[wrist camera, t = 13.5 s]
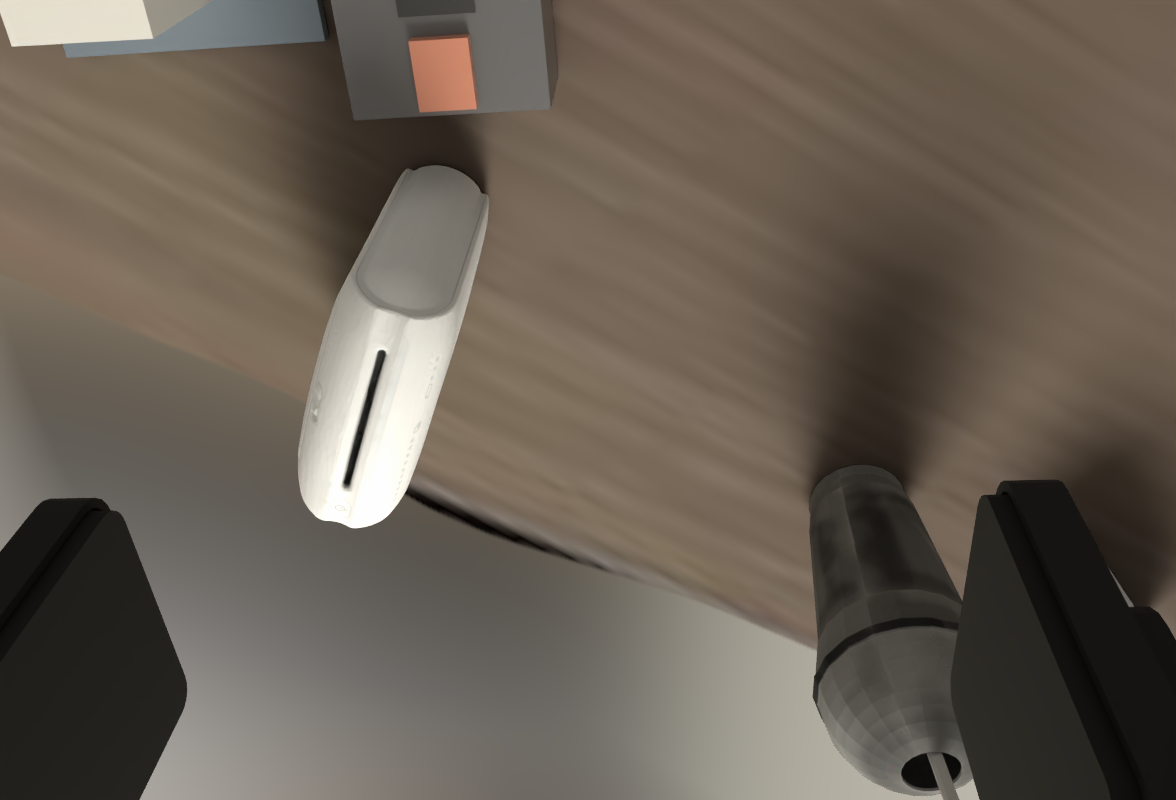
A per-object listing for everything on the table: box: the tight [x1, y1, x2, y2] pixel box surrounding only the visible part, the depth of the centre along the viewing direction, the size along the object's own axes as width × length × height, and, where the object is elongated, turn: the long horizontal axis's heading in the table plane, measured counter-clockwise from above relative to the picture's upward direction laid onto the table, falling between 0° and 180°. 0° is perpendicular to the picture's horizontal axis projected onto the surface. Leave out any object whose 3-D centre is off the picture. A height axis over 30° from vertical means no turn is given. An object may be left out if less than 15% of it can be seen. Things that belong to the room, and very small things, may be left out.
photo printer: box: [298, 165, 489, 528], centre depth 40 cm, size 10×4×12 cm, turn 161°
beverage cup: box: [809, 465, 973, 800], centre depth 42 cm, size 7×7×20 cm
